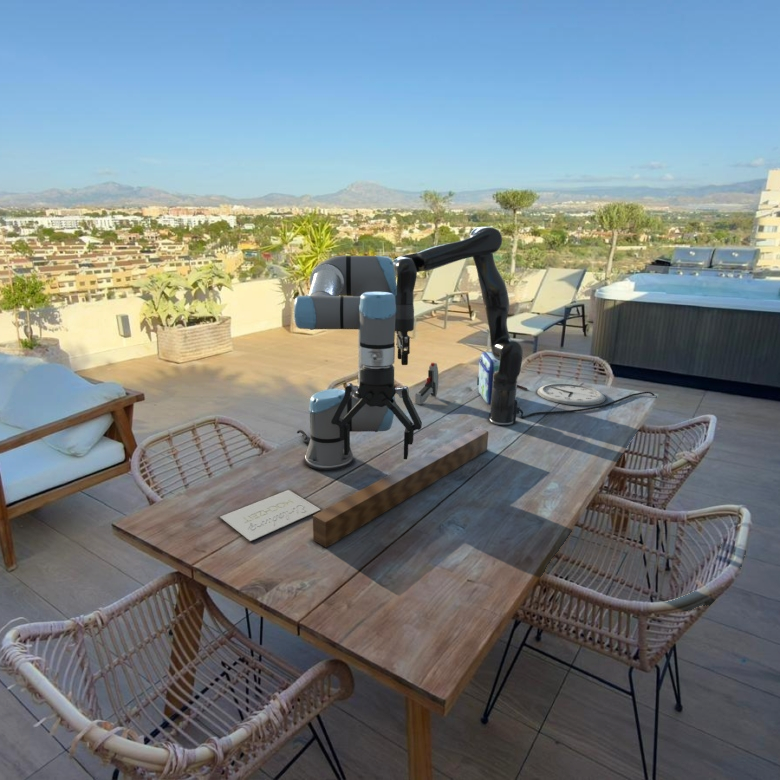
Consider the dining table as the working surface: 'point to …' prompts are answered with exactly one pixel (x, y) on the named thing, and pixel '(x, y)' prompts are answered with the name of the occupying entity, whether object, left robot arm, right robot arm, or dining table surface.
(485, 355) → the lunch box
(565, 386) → the wall clock
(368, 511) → the bar
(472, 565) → the dining table surface
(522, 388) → the ruler
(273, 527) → the invitation card
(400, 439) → the dining table surface
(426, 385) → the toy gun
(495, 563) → the dining table surface
